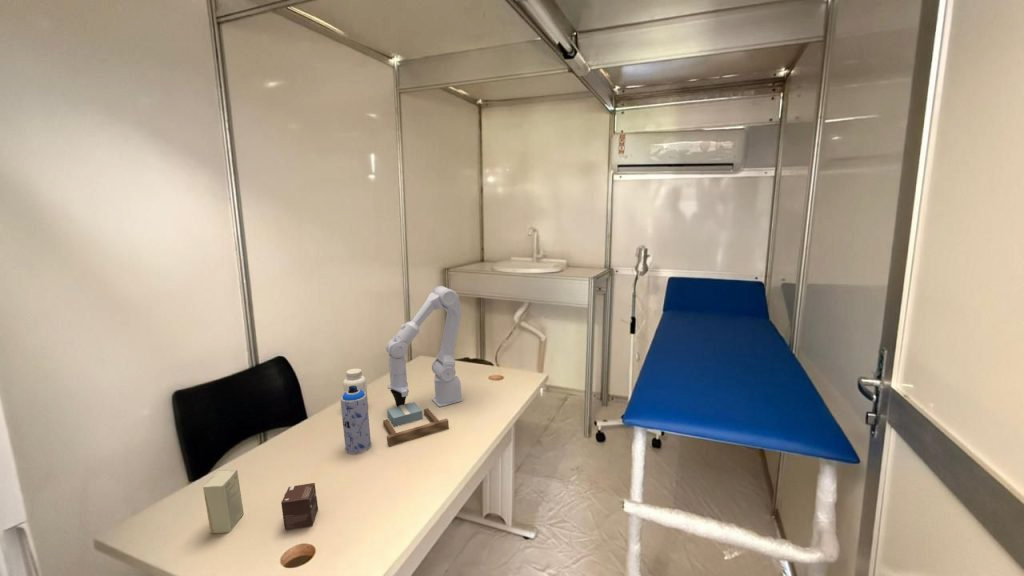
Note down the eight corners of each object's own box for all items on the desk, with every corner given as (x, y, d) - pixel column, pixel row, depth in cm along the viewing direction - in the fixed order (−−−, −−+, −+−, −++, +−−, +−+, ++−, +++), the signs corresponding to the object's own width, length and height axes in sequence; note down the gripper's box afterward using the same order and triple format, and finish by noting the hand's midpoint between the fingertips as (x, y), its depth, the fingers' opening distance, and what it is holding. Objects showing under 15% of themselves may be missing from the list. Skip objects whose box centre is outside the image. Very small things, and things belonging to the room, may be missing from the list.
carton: (415, 410, 153) (414, 401, 152) (422, 419, 146) (421, 410, 145) (387, 418, 148) (387, 408, 147) (394, 427, 141) (393, 418, 140)
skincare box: (225, 515, 101) (218, 469, 99) (245, 513, 101) (238, 468, 99) (209, 534, 95) (201, 486, 93) (230, 533, 95) (222, 485, 93)
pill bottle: (372, 404, 158) (368, 367, 155) (362, 414, 150) (358, 375, 147) (351, 403, 159) (348, 366, 156) (341, 414, 151) (337, 374, 148)
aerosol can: (340, 447, 129) (334, 387, 125) (364, 437, 135) (358, 379, 131) (352, 457, 124) (346, 394, 120) (376, 446, 129) (371, 386, 126)
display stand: (433, 411, 151) (433, 404, 150) (448, 428, 139) (448, 420, 139) (377, 427, 141) (376, 419, 140) (388, 446, 129) (388, 437, 128)
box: (312, 526, 97) (308, 498, 95) (284, 531, 95) (280, 502, 94) (318, 508, 102) (315, 482, 101) (292, 513, 101) (288, 485, 100)
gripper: (381, 368, 153) (384, 403, 155) (392, 381, 140) (395, 419, 143) (400, 364, 156) (403, 398, 159) (412, 377, 144) (415, 413, 146)
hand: (400, 408), depth 151 cm, fingers closed
